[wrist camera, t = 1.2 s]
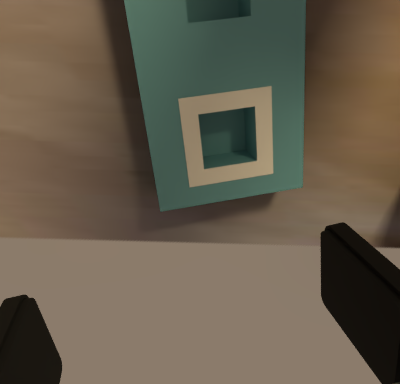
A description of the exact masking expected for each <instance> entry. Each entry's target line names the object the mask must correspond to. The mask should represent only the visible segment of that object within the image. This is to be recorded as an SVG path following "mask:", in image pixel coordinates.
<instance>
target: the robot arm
mask: <svg viewBox="0 0 400 384" xmlns="http://www.w3.org/2000/svg"><path fill="white" fill-rule="evenodd" d="M321 297H322V300H323V303H324V305H325V306H326V308H327V309H328V311H329V312H330V313H331V315H332V316H333V317H334V319H335V320H336V322H337V323H338V324H339V326H340V327H341V328H342V330H343V331H344V333H345V334H346V335H347V337H348V338H349V339H350V341H351V342H352V343H353V345H354V346H355V348H356V349H357V350H358V352H359V353H360V355H361V356H362V357H363V359H364V360H365V361H366V363H367V364H368V366H369V367H370V368H371V370H372V371H373V372H374V374H375V375H376V376H377V378H378V379H379V381H380V382H381V383H382V384H400V269H398V268H397V267H396V266H395V265H394V264H393V263H391V262H390V261H389V260H388V259H387V258H385V257H384V256H383V255H382V254H381V253H380V252H379V251H377V250H376V249H375V248H374V247H373V246H372V245H370V244H369V243H368V242H367V241H366V240H365V239H363V238H362V237H361V236H360V235H359V234H357V233H356V232H355V231H354V230H353V229H352V228H350V227H349V226H348V225H347V224H346V223H343V222H342V223H338V224H333V225H329V226H326V228H325V231H322V232H321ZM61 373H62V361H61V358H60V356H59V353H58V351H57V349H56V347H55V344H54V342H53V340H52V337H51V335H50V333H49V330H48V328H47V326H46V324H45V321H44V319H43V317H42V314H41V312H40V310H39V308H38V305H37V303H36V301H35V299H34V298H29V297H28V296H27V295H20V296H16V297H12V298H7V299H5V300H4V301H3V303H2V305H1V307H0V384H59V382H60V378H61Z"/></svg>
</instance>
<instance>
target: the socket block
mask: <svg viewBox="0 0 400 384" xmlns="http://www.w3.org/2000/svg"><path fill="white" fill-rule="evenodd" d="M124 3H125V9H126V15H127V21H128V27H129V32H130V38H131V44H132V50H133V56H134V61H135V67H136V73H137V79H138V85H139V91H140V96H141V102H142V108H143V114H144V120H145V125H146V131H147V137H148V143H149V149H150V154H151V160H152V166H153V172H154V178H155V184H156V189H157V195H158V201H159V207H160V212H162V211H168V210H174V209H180V208H186V207H191V206H197V205H203V204H209V203H215V202H220V201H226V200H232V199H238V198H244V197H249V196H255V195H261V194H267V193H273V192H279V191H284V190H290V189H296V188H302V187H303V146H304V86H305V26H306V0H124Z"/></svg>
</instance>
